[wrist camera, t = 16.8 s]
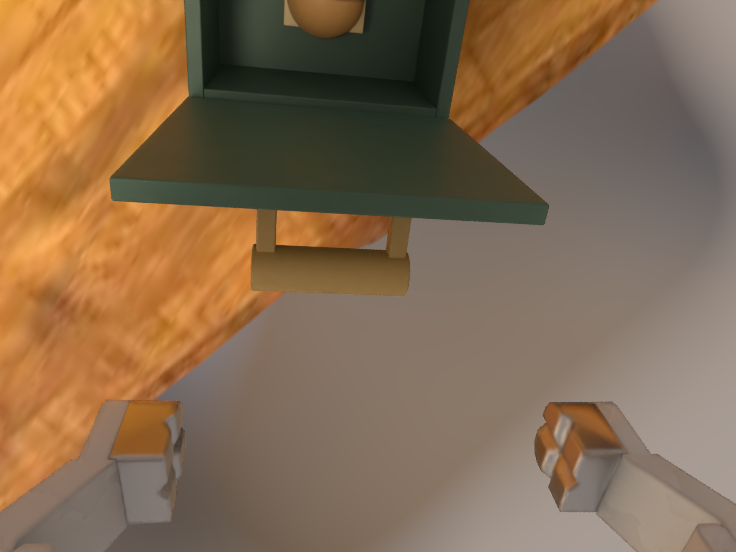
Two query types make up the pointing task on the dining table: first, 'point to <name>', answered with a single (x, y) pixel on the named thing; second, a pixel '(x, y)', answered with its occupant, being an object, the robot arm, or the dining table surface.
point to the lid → (324, 183)
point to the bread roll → (325, 16)
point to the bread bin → (327, 57)
